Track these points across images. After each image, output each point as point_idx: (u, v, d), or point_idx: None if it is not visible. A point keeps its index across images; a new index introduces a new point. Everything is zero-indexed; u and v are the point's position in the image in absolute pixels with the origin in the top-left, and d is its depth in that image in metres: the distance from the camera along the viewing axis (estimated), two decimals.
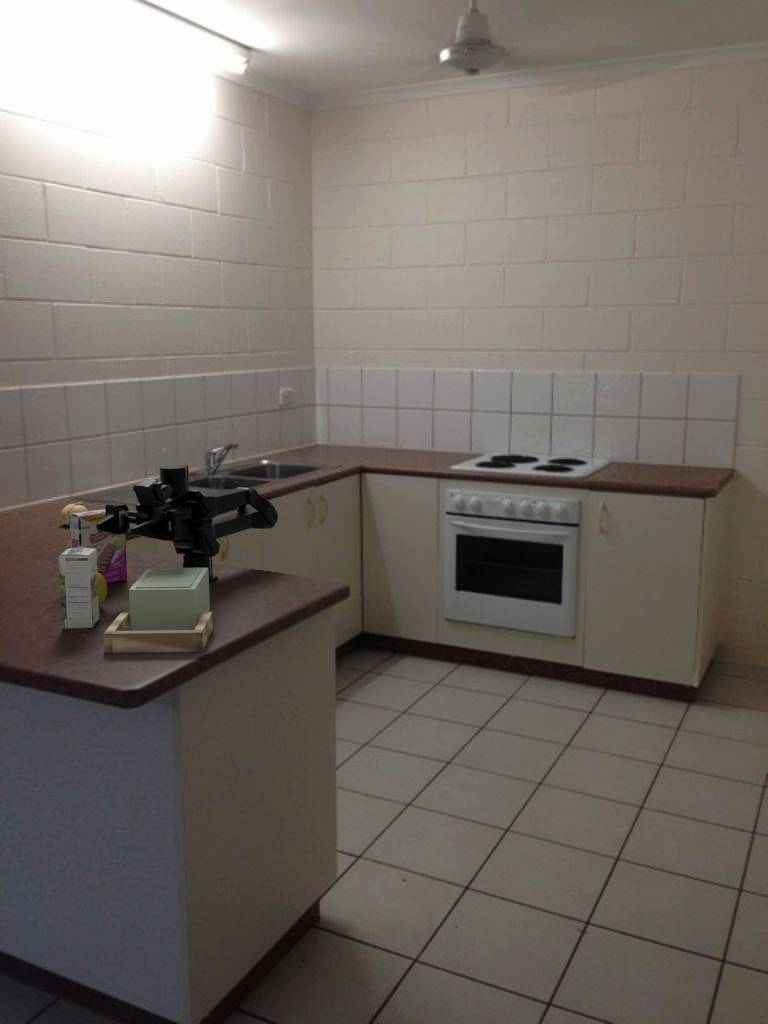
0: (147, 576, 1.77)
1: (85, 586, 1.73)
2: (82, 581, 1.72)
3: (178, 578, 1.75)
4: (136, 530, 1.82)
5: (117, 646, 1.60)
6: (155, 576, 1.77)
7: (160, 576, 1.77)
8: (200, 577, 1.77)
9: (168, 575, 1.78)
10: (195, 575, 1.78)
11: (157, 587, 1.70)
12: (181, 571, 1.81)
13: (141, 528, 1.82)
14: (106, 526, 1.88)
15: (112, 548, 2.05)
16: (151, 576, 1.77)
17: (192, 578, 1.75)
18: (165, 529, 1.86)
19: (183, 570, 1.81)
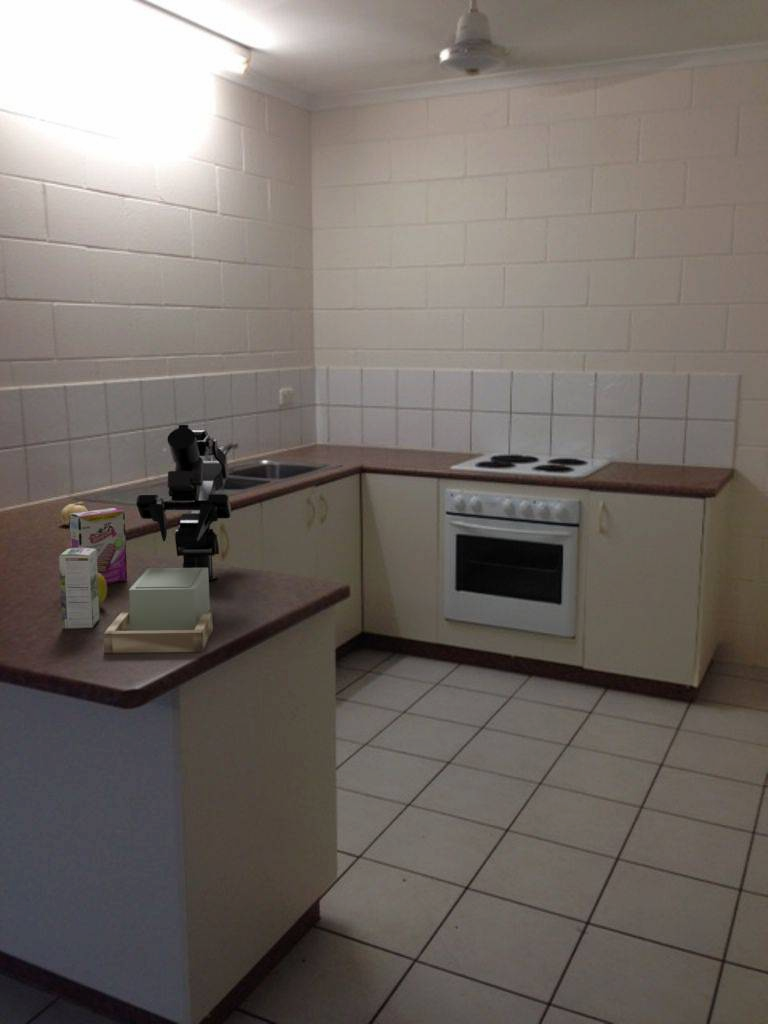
0: (147, 576, 1.77)
1: (85, 586, 1.73)
2: (82, 581, 1.72)
3: (178, 578, 1.75)
4: (199, 535, 1.88)
5: (117, 646, 1.60)
6: (155, 576, 1.77)
7: (160, 576, 1.77)
8: (200, 577, 1.77)
9: (168, 575, 1.78)
10: (195, 575, 1.78)
11: (157, 587, 1.70)
12: (181, 571, 1.81)
13: (200, 531, 1.88)
14: (165, 530, 1.89)
15: (112, 548, 2.05)
16: (151, 576, 1.77)
17: (192, 578, 1.75)
18: (214, 515, 1.91)
19: (183, 570, 1.81)
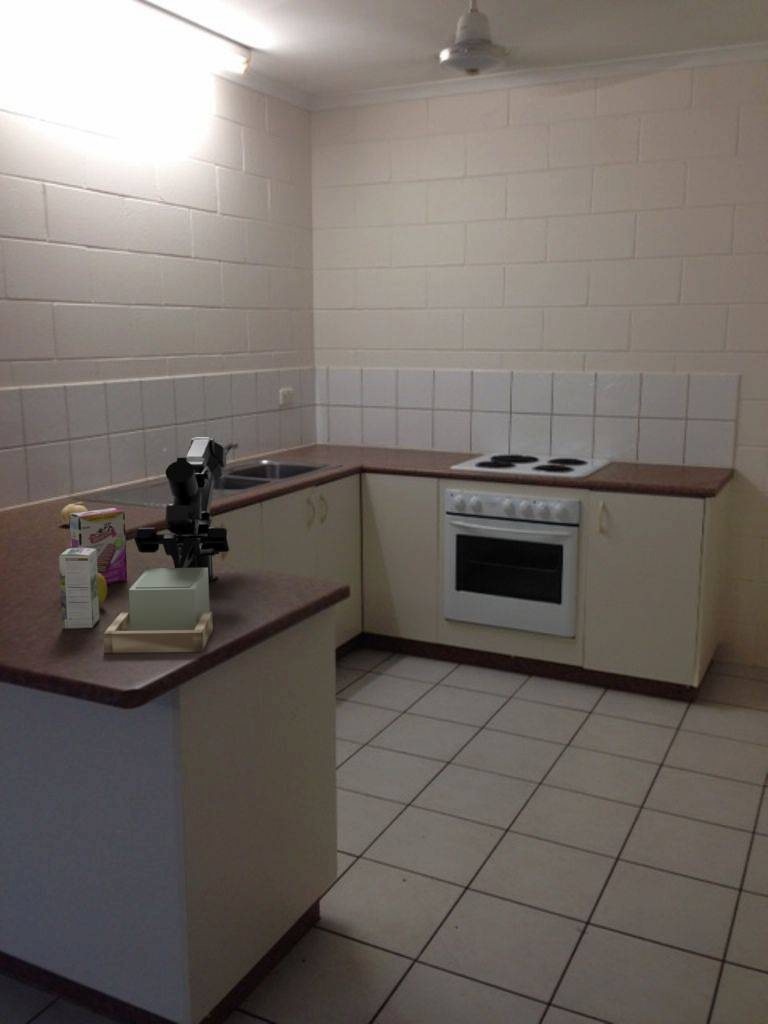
0: (147, 576, 1.77)
1: (85, 586, 1.73)
2: (82, 581, 1.72)
3: (178, 578, 1.75)
4: None
5: (117, 646, 1.60)
6: (155, 576, 1.77)
7: (160, 576, 1.77)
8: (200, 577, 1.77)
9: (168, 575, 1.77)
10: (195, 575, 1.77)
11: (157, 587, 1.69)
12: (181, 571, 1.80)
13: (184, 565, 1.85)
14: None
15: (112, 548, 2.05)
16: (151, 576, 1.77)
17: (192, 578, 1.75)
18: (197, 549, 1.89)
19: (183, 570, 1.81)
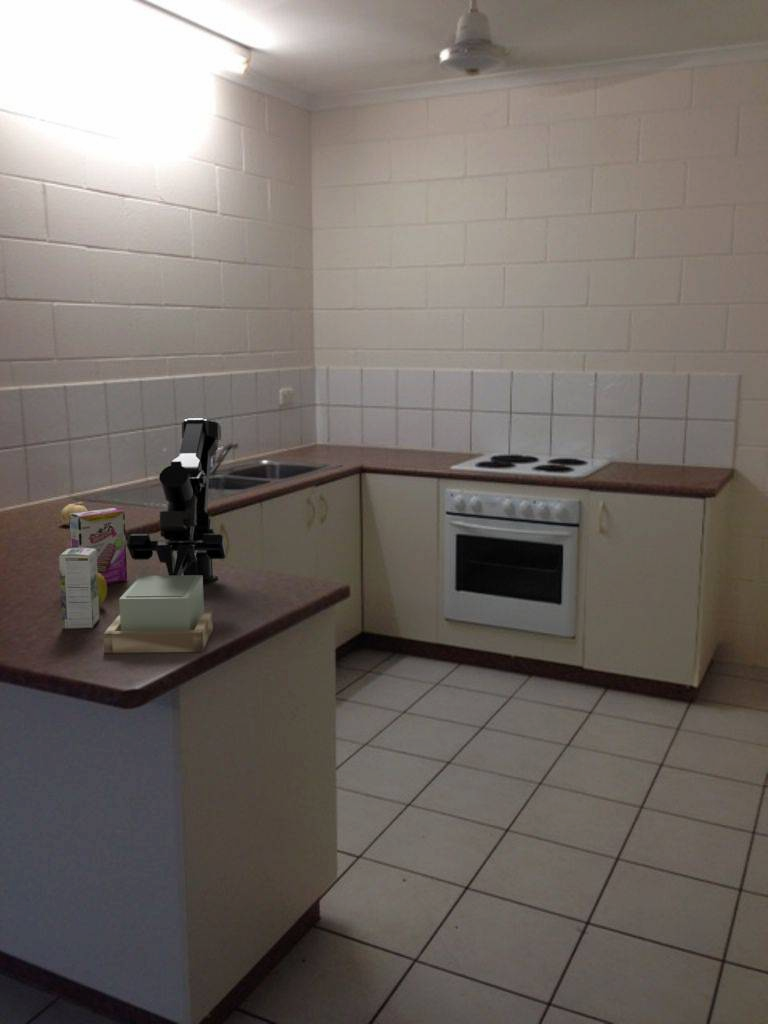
0: (139, 584, 1.71)
1: (85, 586, 1.73)
2: (82, 581, 1.72)
3: (171, 586, 1.69)
4: None
5: (117, 646, 1.60)
6: (147, 584, 1.71)
7: (152, 584, 1.71)
8: (193, 585, 1.71)
9: (160, 583, 1.71)
10: (188, 583, 1.71)
11: (148, 596, 1.63)
12: (174, 579, 1.74)
13: (178, 573, 1.79)
14: None
15: (112, 548, 2.05)
16: (143, 584, 1.71)
17: (185, 586, 1.69)
18: (192, 556, 1.83)
19: (176, 578, 1.75)
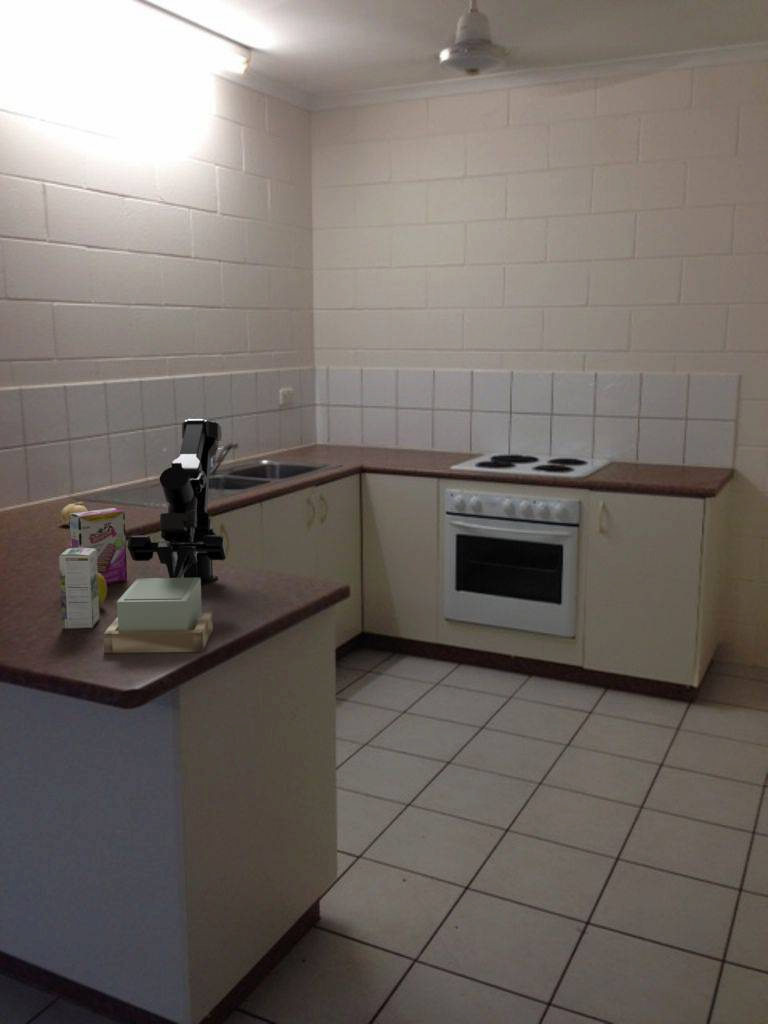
0: (136, 587, 1.69)
1: (85, 586, 1.73)
2: (82, 581, 1.72)
3: (169, 589, 1.68)
4: None
5: (117, 646, 1.60)
6: (145, 587, 1.69)
7: (150, 587, 1.69)
8: (192, 588, 1.69)
9: (158, 586, 1.70)
10: (186, 586, 1.70)
11: (146, 599, 1.62)
12: (172, 581, 1.73)
13: (178, 575, 1.80)
14: None
15: (112, 548, 2.05)
16: (140, 587, 1.69)
17: (183, 589, 1.68)
18: (192, 557, 1.83)
19: (174, 580, 1.74)
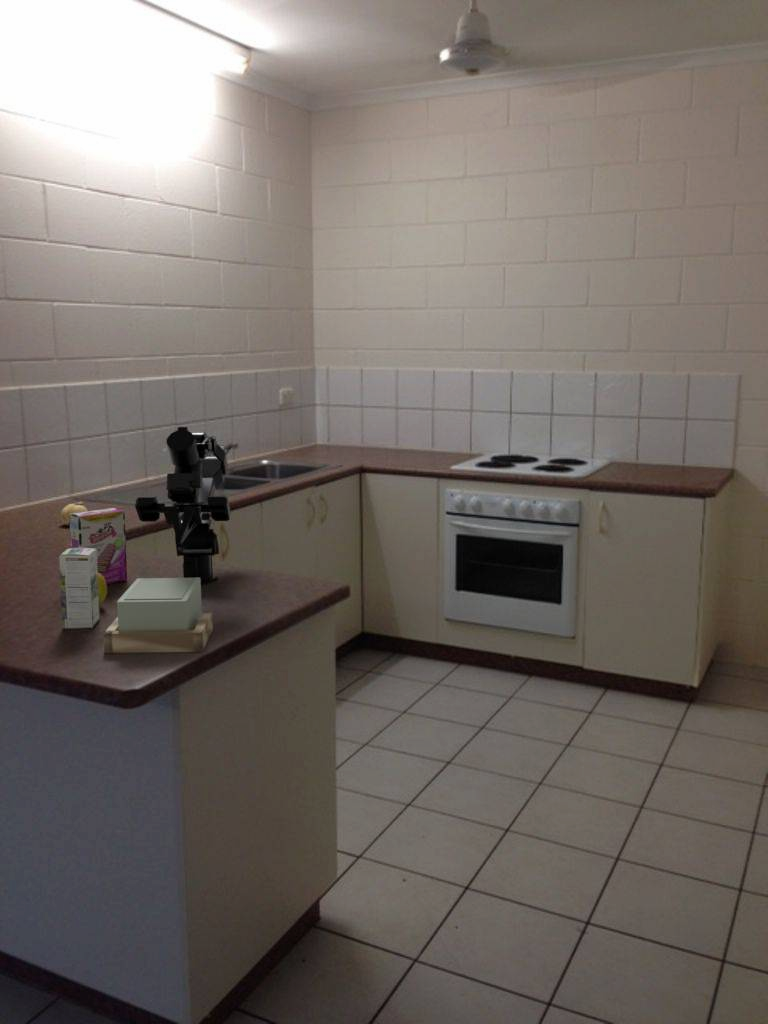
0: (136, 587, 1.69)
1: (85, 586, 1.73)
2: (82, 581, 1.72)
3: (169, 589, 1.68)
4: (182, 538, 1.86)
5: (117, 646, 1.60)
6: (145, 587, 1.69)
7: (150, 587, 1.69)
8: (192, 588, 1.69)
9: (158, 586, 1.70)
10: (186, 586, 1.70)
11: (146, 599, 1.62)
12: (172, 581, 1.73)
13: (184, 533, 1.87)
14: None
15: (112, 548, 2.05)
16: (140, 587, 1.69)
17: (183, 589, 1.68)
18: (198, 517, 1.90)
19: (174, 580, 1.74)
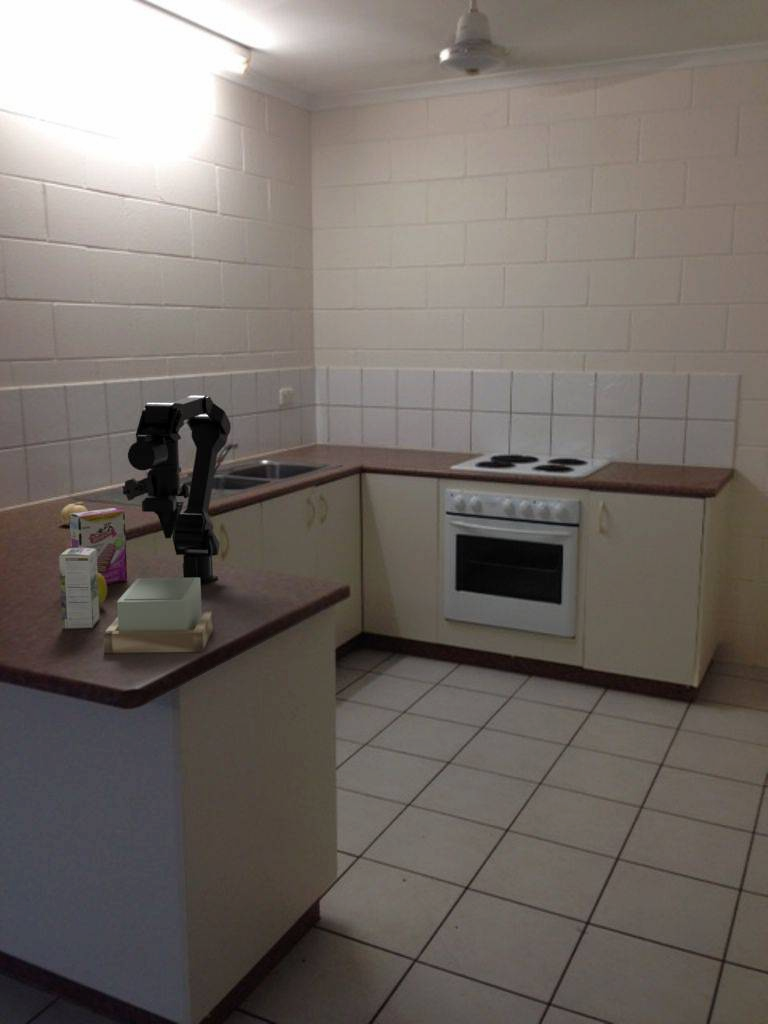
0: (136, 587, 1.69)
1: (85, 586, 1.73)
2: (82, 581, 1.72)
3: (169, 589, 1.68)
4: (166, 534, 1.91)
5: (117, 646, 1.60)
6: (144, 587, 1.69)
7: (150, 587, 1.69)
8: (192, 588, 1.69)
9: (158, 586, 1.70)
10: (186, 586, 1.70)
11: (146, 599, 1.62)
12: (172, 581, 1.73)
13: (164, 530, 1.91)
14: None
15: (112, 548, 2.05)
16: (140, 587, 1.69)
17: (183, 589, 1.68)
18: None
19: (174, 580, 1.74)
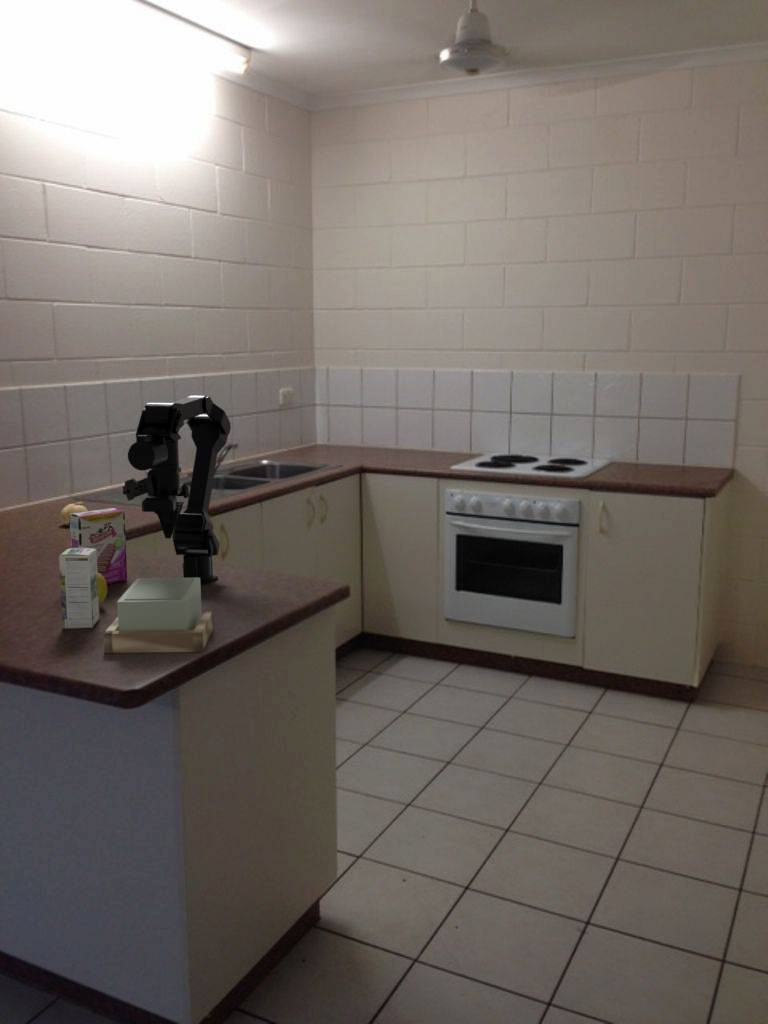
0: (136, 587, 1.69)
1: (85, 586, 1.73)
2: (82, 581, 1.72)
3: (169, 589, 1.68)
4: (166, 534, 1.91)
5: (117, 646, 1.60)
6: (145, 587, 1.69)
7: (150, 587, 1.69)
8: (192, 588, 1.69)
9: (158, 586, 1.70)
10: (186, 586, 1.70)
11: (147, 599, 1.62)
12: (172, 581, 1.73)
13: (164, 530, 1.91)
14: None
15: (112, 548, 2.05)
16: (140, 587, 1.69)
17: (183, 589, 1.68)
18: None
19: (174, 580, 1.74)
